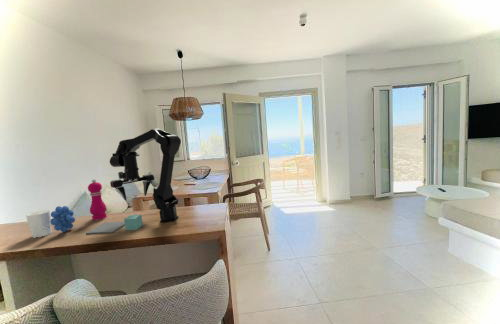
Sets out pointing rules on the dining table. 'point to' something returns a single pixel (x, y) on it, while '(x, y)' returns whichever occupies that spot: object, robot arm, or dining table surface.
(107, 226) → the gray mat
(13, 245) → the dining table surface
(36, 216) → the white cup
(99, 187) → the pepper mill
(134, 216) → the teal block
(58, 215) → the grapes
